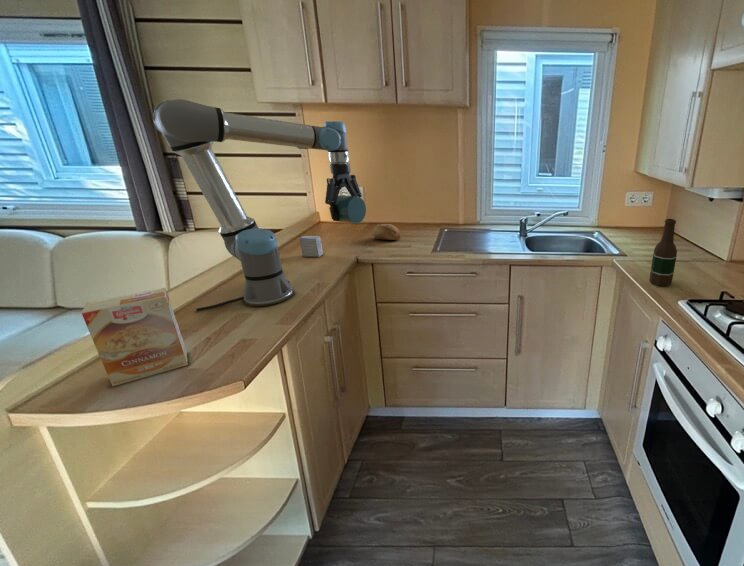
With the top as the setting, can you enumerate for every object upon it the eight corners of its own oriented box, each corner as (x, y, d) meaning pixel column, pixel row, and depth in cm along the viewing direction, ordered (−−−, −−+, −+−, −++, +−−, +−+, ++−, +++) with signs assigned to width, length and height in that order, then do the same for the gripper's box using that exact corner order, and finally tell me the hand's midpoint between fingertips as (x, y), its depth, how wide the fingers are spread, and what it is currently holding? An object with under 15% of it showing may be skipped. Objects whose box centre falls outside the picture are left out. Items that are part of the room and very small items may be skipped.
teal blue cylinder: (343, 210, 157) (327, 208, 160) (356, 229, 165) (341, 227, 168) (357, 191, 162) (341, 189, 165) (369, 210, 171) (354, 208, 174)
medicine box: (323, 254, 186) (320, 235, 182) (319, 257, 182) (315, 238, 178) (307, 253, 186) (304, 235, 183) (302, 256, 182) (298, 238, 179)
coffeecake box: (111, 387, 95) (79, 313, 87) (114, 373, 100) (85, 301, 93) (188, 365, 103) (165, 295, 95) (187, 353, 108) (165, 286, 101)
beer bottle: (672, 281, 152) (684, 218, 143) (669, 288, 145) (681, 223, 136) (651, 277, 155) (660, 216, 146) (647, 284, 149) (657, 220, 140)
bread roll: (395, 243, 201) (394, 227, 198) (369, 240, 205) (367, 225, 202) (404, 238, 209) (403, 223, 206) (379, 235, 213) (377, 221, 210)
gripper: (324, 166, 148) (332, 224, 156) (367, 160, 168) (372, 213, 176) (309, 165, 151) (318, 223, 159) (352, 160, 171) (358, 211, 179)
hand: (346, 217), depth 167 cm, fingers closed on teal blue cylinder, 11 cm apart
